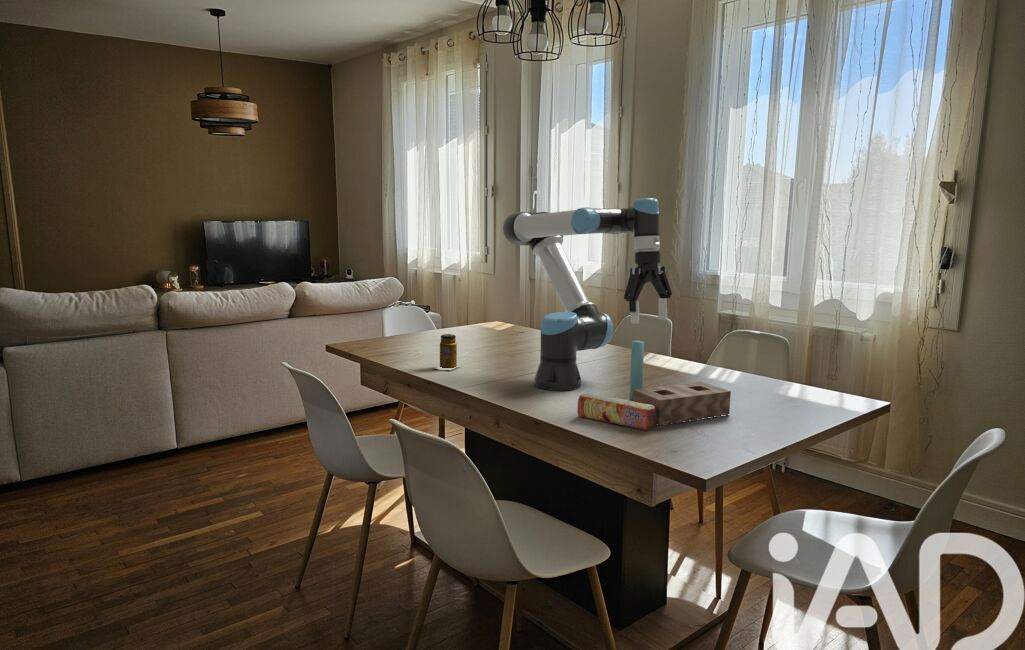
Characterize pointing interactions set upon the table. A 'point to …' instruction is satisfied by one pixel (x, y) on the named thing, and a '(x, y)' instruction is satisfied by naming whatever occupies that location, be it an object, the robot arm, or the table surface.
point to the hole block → (685, 401)
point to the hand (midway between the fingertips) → (649, 321)
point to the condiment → (448, 351)
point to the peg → (636, 366)
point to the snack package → (616, 411)
